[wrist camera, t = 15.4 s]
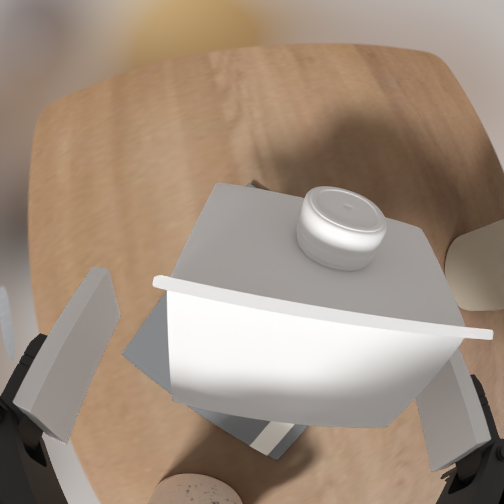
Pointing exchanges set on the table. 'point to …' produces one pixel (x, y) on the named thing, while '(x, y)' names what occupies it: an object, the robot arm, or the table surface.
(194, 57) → the table surface
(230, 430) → the mat
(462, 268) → the travel mug
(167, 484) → the teacup with lid
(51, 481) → the robot arm
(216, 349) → the milk carton
